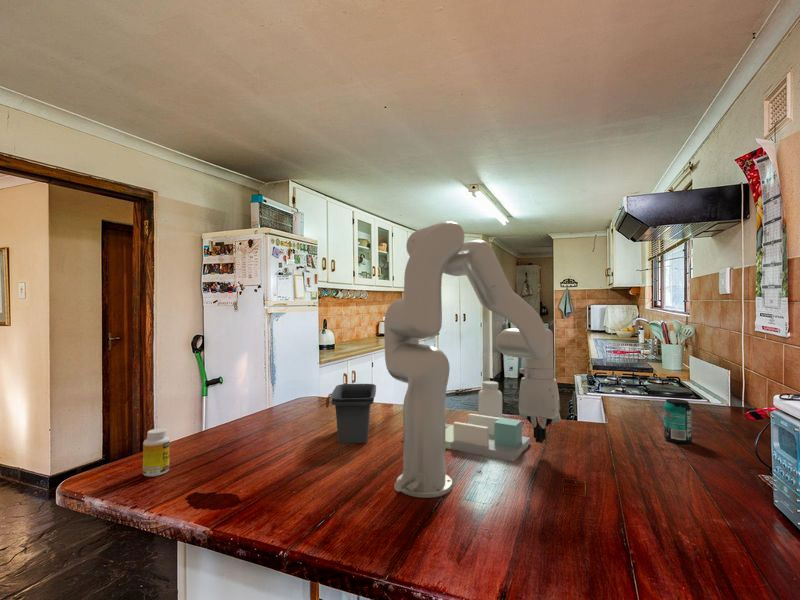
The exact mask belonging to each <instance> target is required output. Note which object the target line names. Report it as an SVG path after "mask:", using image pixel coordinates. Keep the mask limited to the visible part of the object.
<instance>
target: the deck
mask: <svg viewBox="0 0 800 600" xmlns="http://www.w3.org/2000/svg"><path fill="white" fill-rule="evenodd" d="M467 415H468V419H467V423H465V422H459V421H454V422H453V424H450V423H445V447H446V450H447V449H448V450H453V451H457V450H458V451H459V452H462V453H468V454H472V455H478V456H483V457H487V456H488V458H493V459H498V460H503V461H509V462H512V461H513V462H514V461H515V462H516V461H517V460H518V459H519V458H520V457H521V455H522V454H523V453H524V452H525V451H524V450H527V448H529V446H530V445H531V437H527V436H523V435H522V442H521V443H520V444H519V445H518V446H517V447H516V448H514V447H508V446H503V445H497V444H494V422H496V421H497V420H499V419H500V418H498V417H491V416H484V415H478V413H475V414H474V413H468V414H467ZM529 444H530V445H529ZM528 445H529V446H528ZM523 451H524V452H523ZM522 452H523V453H522ZM521 453H522V454H521ZM513 462H512V463H513Z"/></svg>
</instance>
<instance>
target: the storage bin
mask: <svg viewBox="0 0 800 600" xmlns="http://www.w3.org/2000/svg"><path fill="white" fill-rule="evenodd" d="M376 393H377V385H376V384H374V383H342V384H338V385H336V386H335V387H334V389H333V391H332V392H331V393H329V394H328V396H327V397H326V398H325V408H326V409H328V407H329V406H330V404H331V405H333V406H334V408H335V417H336V418H335V419H336V427H337V430H336V431H337V441H338V443H339V444H366V443H368V440H369V439H368V438H369V430H370V419H371V418H370V417H371V406H372V405H373V404H374V401H375V397H376ZM330 399H331V403H330Z"/></svg>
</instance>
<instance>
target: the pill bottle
mask: <svg viewBox="0 0 800 600" xmlns="http://www.w3.org/2000/svg"><path fill="white" fill-rule="evenodd" d="M477 395H478V401H477V402H478V403H477V405H478V408H477V412H478V413H477V415H484V416H491V417H498V418H503V393H502V391H501V390H499V382H498V381H492V380H486V381H482V388H481V389H480V390H479V391H478V394H477Z"/></svg>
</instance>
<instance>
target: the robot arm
mask: <svg viewBox="0 0 800 600" xmlns="http://www.w3.org/2000/svg"><path fill="white" fill-rule="evenodd" d="M465 237H466V236H465V231H464V229H463V227H462V226H461V224H459V223H457V222H454V221H444V222H440V223H439V222H438V223H435V224H432V225H429V226H427V227H423V228H420V229H418V230H415V231H414V232H412V233H411V234H410V235H409V236H408V238H407V241H406V252H407V254H408V256H409V258H408V260H407V262H406V265H405V269H404V278H403V279H404V280H403V282H404V283H403V297H402V298H399V299H396V300H394V301H393V302H392V303H391V304H389V306H388V308H387V310H386V312H385V315H384V322H383V325H384V326H383V332H384V360H385V361H384V362H385V366H386V369H387V372H388V374H389V375H390V376H391V377H392V378H393V379H395V380H397V381H398V382H402V383H404V384H407V390H406V393H405V394H404V395H405V396H404V400H403V405H402V408H403V410H402V417H403V418H402V419H403V420H402V421H403V422H402V423H403V424H402V425H403V429H402V430H403V432H402V440H403V446H402V447H403V448H402V450H403V452H402V453H403V459H402V460H403V463H402V464H403V467H402V468H403V469H402V473H401V474H400V475H399V476H398V477H397V478H396V482H394V485H393V487H394V490H395V491H396V492H397V493H398V492H401V493H403V494H405V495H406V496H407V495H408V496H411V497H414V498H423V499H429V498H430V499H431V498H437V497H441V496H445V495H446V494H448V493H449V492H451V491H452V490H453V480H452V478H451V477H450V476H449V475H448V474H446V473H447V471H446V469H447V468H446V466H447V465H446V460H447V459H446V450H447V448H446V447H445V424H446V398H447V397H446V396H447V389H448V388H447V387H448V383H449V377H450V362H449V359H448V357H447V354H445V353H444V351H442V350H441V349H439V348H438V347H435V346H432V345H429V344H422V343H421V344H420V340H427V339H428V340H429V339H432V338H434V337H436V336H438V334H439V333H440V332H441V329H442V324H443V323H442V322H443V306H442V304H443V303H442V302H443V300H442V284H443V283H442V280H443V274H446V275H449V276H453V277H462V276H466V277H467V279H468V281H469V283H470V285H471V287H472V288H473V291H474V292H475V295H476V296H477V299H478V301H479V303H480V305H481V306H483V307H484V308H485V309H486V310H488V311H491V312H492V313H494V314H496V315H497V316H501V317H502V318H504V319H506V320H507V321H508V322H510V323H512V324H513V325H514V327H515V328H514V327H513V328H505V329H503V330H502V331H500V332H499V333H498V334H497V336H496V339H495V345H496V348H497V350H498V351H499V352H500V353H501V354H503V355H504V356H508V357H513V358H521V359H522V358H523V359H524V360H523V361H524V362H523V363H524V366H523V367H521V368H519V371H518V372H519V374H522V375H523V377H521V378H520V379H521V380H520V384H519V385H520V386H519V392H518V394H519V395H518V397H519V398H518V411H519V417H520V418H523V419H524V420H527V421H528V422H529V423H530V424H531V426H532V428H533V438H534V439H535V443H537V444H538V443H540V444H543V443H544V442H545V441H546V440H547V427H548V426H549V425H551V424H554V423H560V422H561V421H562V419H561V415H560V413H561V412H560V411H561V401H560V393H559V388H558V387H559V386H558V382H557V379H556V378H555V376H554V374H555V371H554V333H553V331H552V330H551V329H550V328H546V327H545V324H544V321H543V319H542V318H541V316H540V314H539V313H538V312H537V311H536V310H535V308H533V306H532V305H530V304H529V303H528V302H527V301H526V300H525V299H523V298H522V297H521V296H520V295H519V294H517V293H516V292H515V291H514V290H513V289H512V287H511V285H510V284H509V281H508V279H507V277H506V275H505V273H504V270H503V268H502V266H501V264H500V262H499V260H498V257H497V255H496V252H495V251H494V249H493V246H491V244H490V243H488V242H487V241H485V240H482V239H475V240H474V239H473V240H469V241H465ZM539 418H541V423H540V422H539Z"/></svg>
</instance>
